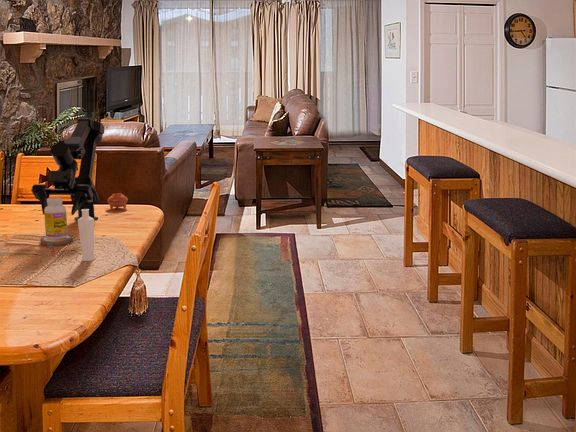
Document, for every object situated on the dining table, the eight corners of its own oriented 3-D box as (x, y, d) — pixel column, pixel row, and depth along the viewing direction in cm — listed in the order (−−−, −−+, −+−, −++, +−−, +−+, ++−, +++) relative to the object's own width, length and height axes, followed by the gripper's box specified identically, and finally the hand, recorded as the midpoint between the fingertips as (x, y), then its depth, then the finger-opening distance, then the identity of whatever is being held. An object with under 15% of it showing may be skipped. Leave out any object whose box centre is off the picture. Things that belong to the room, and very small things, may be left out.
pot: (116, 211, 249) (112, 194, 249) (105, 212, 255) (102, 196, 254) (133, 207, 255) (130, 190, 255) (122, 208, 261) (119, 192, 260)
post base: (48, 236, 213) (48, 232, 213) (78, 236, 214) (78, 232, 213) (33, 247, 201) (33, 243, 201) (65, 247, 201) (65, 243, 201)
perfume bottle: (89, 256, 192) (86, 207, 189) (99, 258, 190) (96, 209, 187) (76, 259, 189) (73, 210, 185) (86, 262, 186) (83, 212, 183)
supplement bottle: (53, 241, 203) (50, 201, 200) (41, 237, 206) (38, 198, 203) (72, 237, 208) (69, 198, 205) (60, 233, 212) (57, 195, 209)
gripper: (30, 160, 209) (20, 200, 201) (88, 160, 209) (79, 201, 201) (41, 179, 218) (32, 218, 210) (96, 179, 218) (89, 219, 210)
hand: (57, 214), depth 208 cm, fingers open, 9 cm apart
